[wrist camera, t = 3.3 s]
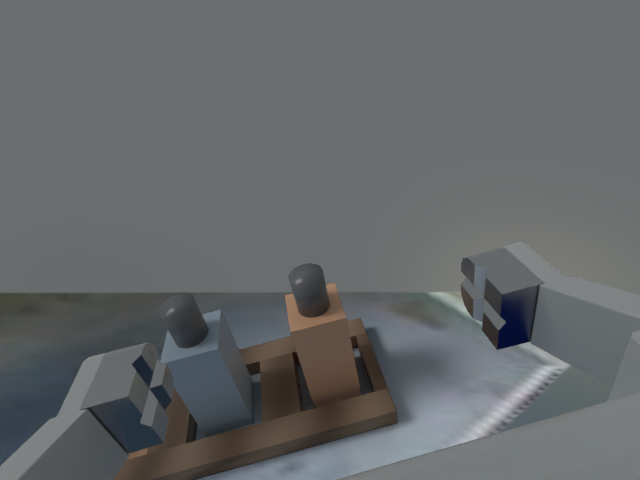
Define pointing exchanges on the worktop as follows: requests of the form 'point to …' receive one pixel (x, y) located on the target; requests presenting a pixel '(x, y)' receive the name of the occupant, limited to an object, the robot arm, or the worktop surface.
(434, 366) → the worktop surface
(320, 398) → the terracotta plug
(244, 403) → the slate plug
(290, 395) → the plug dock
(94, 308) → the worktop surface
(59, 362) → the worktop surface
